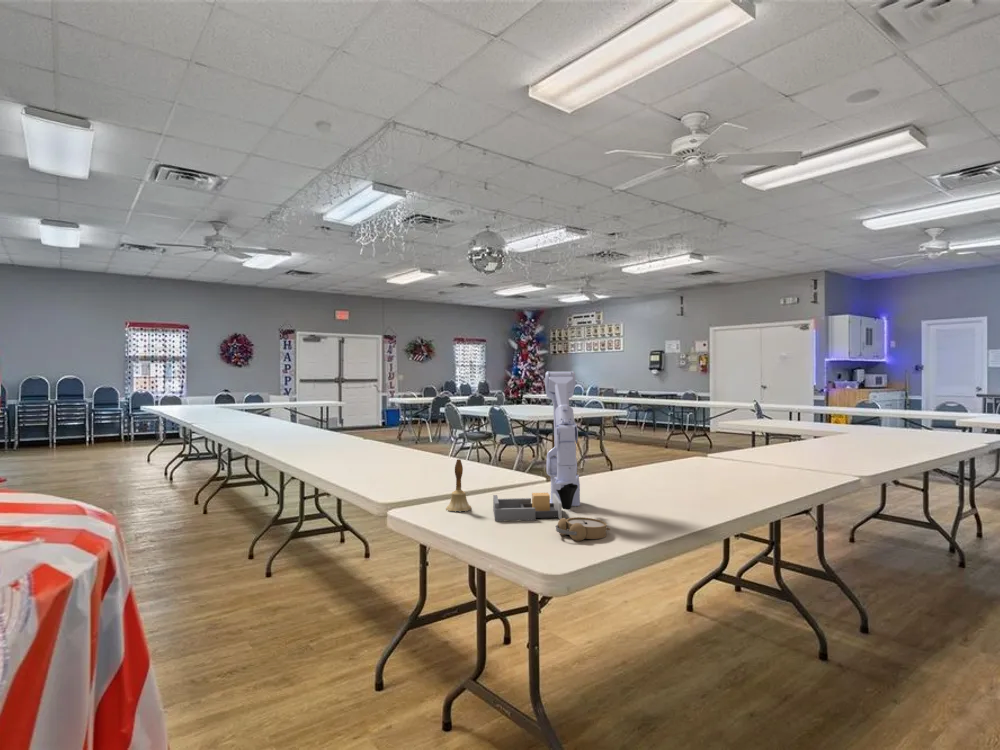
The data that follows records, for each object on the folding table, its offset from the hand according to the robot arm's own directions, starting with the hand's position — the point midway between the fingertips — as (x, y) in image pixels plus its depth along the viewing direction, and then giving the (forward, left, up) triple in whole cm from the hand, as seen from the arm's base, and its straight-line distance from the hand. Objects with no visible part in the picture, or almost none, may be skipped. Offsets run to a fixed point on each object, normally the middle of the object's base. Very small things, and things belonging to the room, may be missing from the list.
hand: (566, 508), depth 171 cm
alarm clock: (-1, +18, -3) cm, 18 cm away
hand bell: (+33, -12, -3) cm, 35 cm away
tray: (+8, -4, -2) cm, 9 cm away
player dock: (+16, -4, -2) cm, 16 cm away
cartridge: (+7, -4, -1) cm, 8 cm away
